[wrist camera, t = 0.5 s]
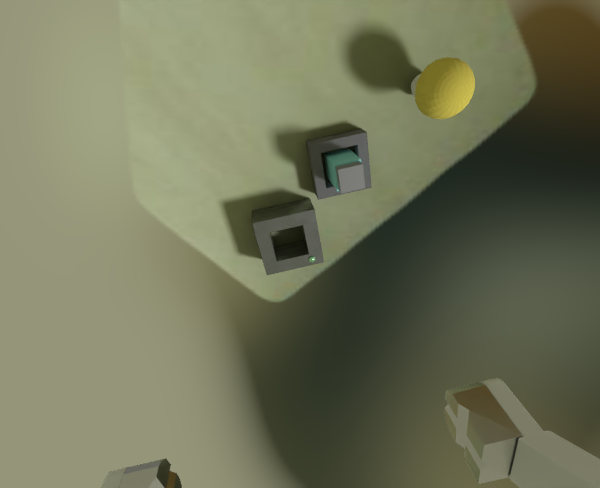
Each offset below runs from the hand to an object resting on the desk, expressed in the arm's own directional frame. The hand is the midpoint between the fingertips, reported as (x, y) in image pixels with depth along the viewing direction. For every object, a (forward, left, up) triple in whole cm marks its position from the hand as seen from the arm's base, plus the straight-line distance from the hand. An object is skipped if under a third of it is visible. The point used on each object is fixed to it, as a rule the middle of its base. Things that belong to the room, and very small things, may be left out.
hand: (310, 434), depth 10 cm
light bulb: (-2, +22, -43) cm, 48 cm away
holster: (+6, +10, -43) cm, 44 cm away
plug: (+6, +10, -43) cm, 44 cm away
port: (+15, +1, -43) cm, 45 cm away
